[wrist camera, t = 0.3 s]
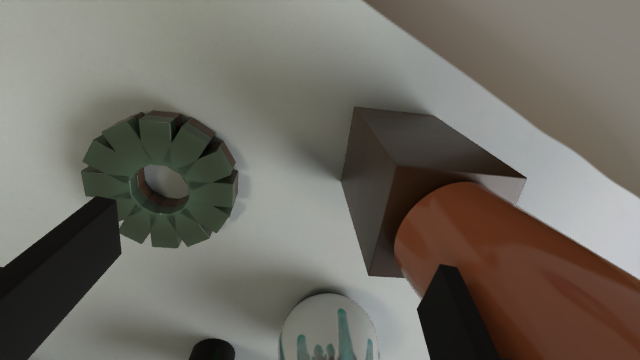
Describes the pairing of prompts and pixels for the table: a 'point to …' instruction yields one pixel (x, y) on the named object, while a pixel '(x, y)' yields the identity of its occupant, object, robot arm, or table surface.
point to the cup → (212, 350)
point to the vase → (328, 331)
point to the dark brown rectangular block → (408, 175)
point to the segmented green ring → (178, 154)
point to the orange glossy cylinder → (522, 277)
